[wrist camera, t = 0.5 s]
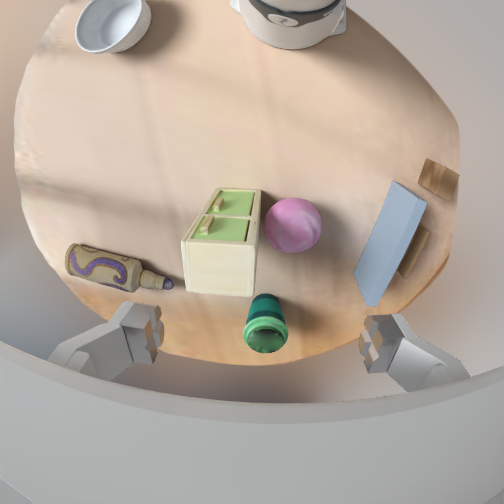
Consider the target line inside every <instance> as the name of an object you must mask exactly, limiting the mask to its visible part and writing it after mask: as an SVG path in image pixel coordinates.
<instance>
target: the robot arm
mask: <svg viewBox="0 0 504 504" xmlns="http://www.w3.org/2000/svg"><path fill="white" fill-rule="evenodd" d="M230 6H231V8H232V9H233V10H234V11H235V12H237V13H238V14H239V15H241V16H242V18H243V20H244V22H245V24H246V26H247V28H248V29H249V30H250V32H251V33H252V34H253V35H254V36H255V37H257V38H258V39H259V40H261V41H263V42H264V43H266V44H269V45H271V46H274V47H278V48H282V49H302V48H307V47H310V46H313V45H315V44H317V43H319V42H320V41H322V40H323V39H325V38H326V37H328V36H332V35H338V34H342V33H344V32H345V30H346V0H231V1H230ZM340 21H341V23H339V22H340ZM161 315H162V313H161V308H160V307H159V306H158V305H151V304H144V303H137V302H129V301H124V302H123V303H122V304H121V305H120V307H119V308H118V310H117V311H116V312H115V314H114V315H113V316H112V318H111V319H110V320H109V322H108V323H103V324H101V325H99V326H97V327H94V328H92V329H90V330H88V331H86V332H84V333H82V334H79V335H77V336H75V337H73V338H71V339H69V340H67V341H64V342H63V343H60V344H59V345H58V346H57V348H56V349H55V350H54V351H53V353H52V354H51V355H50V357H49V358H48V360H47V361H45V360H42V359H40V358H37V357H34V356H32V355H30V354H27V353H25V352H23V351H21V350H18V349H16V348H14V347H12V346H9V345H7V344H5V343H3V342H1V341H0V504H504V366H501V367H499V368H496V369H493V370H491V371H488V372H485V373H482V374H479V375H476V376H472V377H470V375H469V374H468V372H467V370H466V369H465V367H464V366H463V364H462V363H461V361H460V360H458V359H457V358H455V357H454V356H452V355H450V354H448V353H447V352H445V351H443V350H442V349H440V348H438V347H436V346H435V345H433V344H431V343H430V342H428V341H426V340H425V339H423V338H421V337H419V336H417V337H416V335H415V334H414V333H413V331H412V329H411V328H410V326H409V325H408V323H407V322H406V320H405V319H404V317H403V316H402V315H401V314H399V313H398V314H389V315H368V316H367V317H366V319H365V322H364V325H365V327H366V328H365V329H364V330H363V331H362V332H361V334H360V337H359V350H360V353H361V355H363V356H364V357H365V360H364V363H365V366H366V369H367V371H368V373H381V372H387V374H389V376H390V377H392V378H393V379H394V380H395V381H396V382H397V383H398V384H399V385H400V386H402V387H403V388H404V389H405V390H406V391H407V392H408V393H402V394H397V395H391V396H384V397H378V398H369V399H361V400H351V401H340V402H324V403H297V404H296V403H294V404H278V403H274V404H273V403H246V402H231V401H219V400H209V399H199V398H192V397H185V396H178V395H172V394H166V393H160V392H155V391H150V390H145V389H140V388H135V387H130V386H126V385H122V384H118V383H114V382H110V380H111V379H113V378H114V377H115V376H117V375H118V374H119V373H121V372H122V371H123V370H125V369H126V368H127V367H129V366H130V365H131V364H133V362H137V363H143V364H150V365H153V364H154V361H155V359H156V357H157V354H158V352H157V348H158V347H160V346H161V345H162V342H163V339H164V325H163V323H162V322H161V320H160V317H161Z"/></svg>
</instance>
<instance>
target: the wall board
mask: <svg viewBox="0 0 504 504" xmlns="http://www.w3.org/2000/svg"><path fill="white" fill-rule="evenodd" d="M426 205H427V202H426V201H424V200H423V199H422V198H420V197H419V196H417V195H416V194H415V193H413V192H412V191H410V190H409V189H408V188H406V187H405V186H403V185H402V184H400V183H397V182H395V181H392V183H391V186H390V189H389V192H388V194H387V197H386V199H385V202H384V204H383V207H382V209H381V212H380V214H379V217H378V219H377V222H376V224H375V226H374V229H373V231H372V233H371V236H370V238H369V240H368V243H367V245H366V247H365V249H364V251H363V254H362V256H361V258H360V260H359V262H358V264H357V266H356V269H355V271H354V273H353V274H354V276H355V279H356V281H357V284H358V286H359V289H360V291H361V294H362V296H363V299H364V301H365V304H366V305H368V306H373V307H376V305H377V303H378V302H379V300H380V298H381V297H382V295H383V293H384V291H385V290H386V288H387V286H388V284H389V282H390V281H391V279H392V277H393V275H394V273H395V271H396V270H397V271H399V272H400V274H401V276H402V277H403V278H404V279H407V277H408V275H409V274H410V272H411V270H412V268H413V266H414V264H415V262H416V261H417V259H418V257H419V255H420V253H421V251H422V249H423V247H424V245H425V243H426V241H427V238H428V236H429V234H430V231H429V230H428V229H427V228H426V227H425V226H423V225H422V224H420V223H419V222H420V220H421V217H422V215H423V213H424V210H425V208H426Z"/></svg>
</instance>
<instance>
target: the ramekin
mask: <svg viewBox="0 0 504 504" xmlns="http://www.w3.org/2000/svg"><path fill="white" fill-rule="evenodd" d="M150 22H151V10H150V7H149V5H148V4H147V2H146V1H145V0H92V1H91V2H90V3H89V4H88V5H87V6H86V7H85V8H84V10H83V11H82V13H81V15H80V17H79V19H78V21H77V25H76V30H75V37H76V41H77V43H78V45H79V47H80V48H81V49H83V50H84V51H86V52H89V53H94V54H100V53H117V52H121V51H124V50H126V49H129V48H130V47H132V46H133V45H135V44H136V43H137V42H138V41H139V40H140V39H141V38H142V37H143V36H144V34H145V33H146V31H147V30H148V28H149V25H150Z"/></svg>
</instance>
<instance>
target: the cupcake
mask: <svg viewBox="0 0 504 504" xmlns="http://www.w3.org/2000/svg"><path fill="white" fill-rule="evenodd" d="M264 230H265V234H266V237H267V239H268V241H269V242H270V244H271V245H272V246H273V247H274V248H275V249H276V250H278V251H280V252H283V253H297V252H302V251H305V250H307V249H309V248H311V247H312V246H314V245H315V244H316V243H317V241H318V240H319V238H320V235H321V232H322V220H321V216H320V214H319V212H318V210H317V209H316V207H315V206H314V205H313V204H312V203H311V202H309V201H307V200H304V199H300V198H289V199H283V200H280V201H279V202H277V203H276V204H274V205H273V206H272V207H271V208H270V209H269V210H268V212H267V214H266V216H265V220H264Z"/></svg>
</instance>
